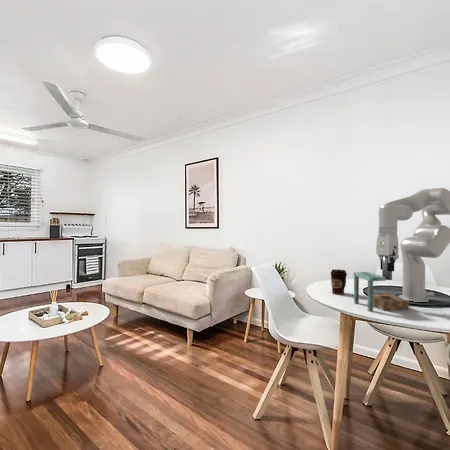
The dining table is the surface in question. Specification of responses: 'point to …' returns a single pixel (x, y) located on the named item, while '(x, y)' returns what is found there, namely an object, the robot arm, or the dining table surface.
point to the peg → (384, 268)
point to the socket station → (378, 300)
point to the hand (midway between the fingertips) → (387, 269)
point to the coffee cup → (338, 281)
